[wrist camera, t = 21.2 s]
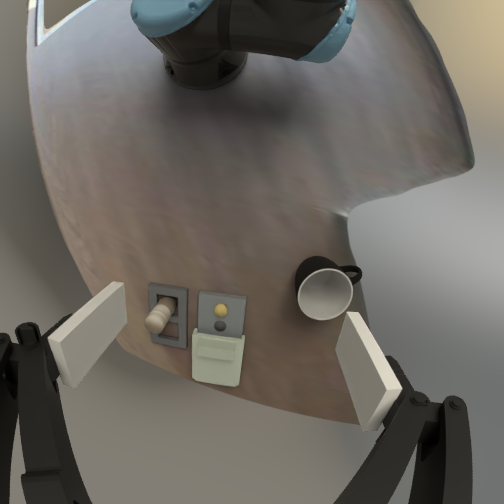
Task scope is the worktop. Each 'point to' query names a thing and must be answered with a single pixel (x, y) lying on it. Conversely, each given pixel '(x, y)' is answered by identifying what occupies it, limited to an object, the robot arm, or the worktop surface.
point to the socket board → (175, 318)
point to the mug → (324, 287)
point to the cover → (216, 358)
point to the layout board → (221, 314)
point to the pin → (160, 314)
